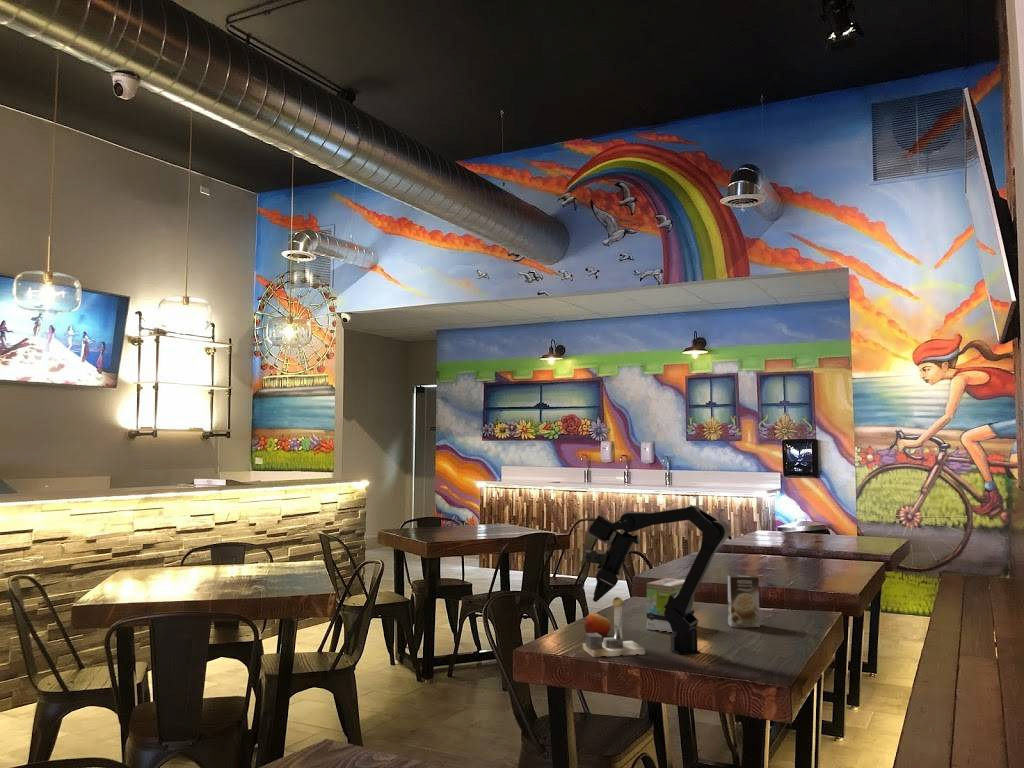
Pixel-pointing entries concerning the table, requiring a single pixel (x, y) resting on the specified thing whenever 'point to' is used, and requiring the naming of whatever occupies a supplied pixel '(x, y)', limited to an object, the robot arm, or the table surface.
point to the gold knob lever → (616, 621)
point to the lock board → (610, 646)
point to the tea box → (661, 602)
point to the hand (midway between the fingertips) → (594, 598)
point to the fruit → (597, 624)
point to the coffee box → (743, 600)
